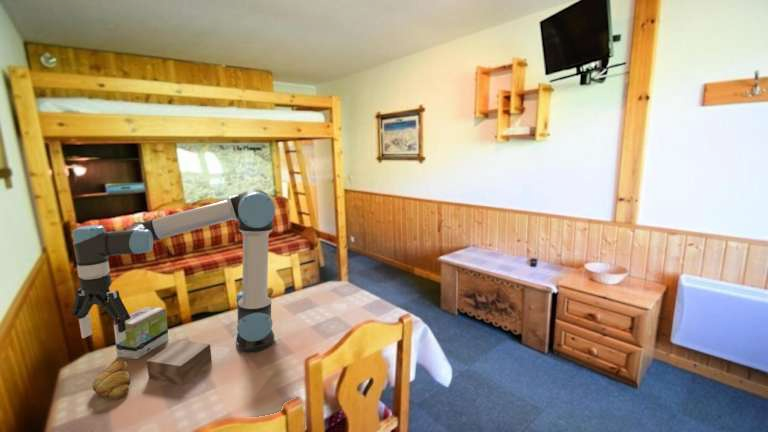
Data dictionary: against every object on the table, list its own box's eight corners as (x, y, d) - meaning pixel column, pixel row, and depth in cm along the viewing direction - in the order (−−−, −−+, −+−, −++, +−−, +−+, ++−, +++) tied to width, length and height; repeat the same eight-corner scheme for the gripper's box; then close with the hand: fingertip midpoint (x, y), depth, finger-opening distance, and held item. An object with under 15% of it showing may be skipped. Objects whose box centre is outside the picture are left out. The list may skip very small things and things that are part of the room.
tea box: (138, 360, 131) (133, 324, 129) (116, 357, 133) (111, 321, 131) (169, 339, 146) (166, 307, 143) (150, 337, 148) (145, 305, 145)
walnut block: (211, 361, 131) (210, 344, 129) (183, 384, 117) (180, 366, 116) (180, 356, 133) (178, 339, 132) (148, 379, 120) (146, 360, 119)
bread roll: (135, 394, 112) (132, 372, 111) (97, 409, 106) (93, 386, 104) (128, 376, 121) (125, 356, 120) (92, 389, 115) (88, 368, 113)
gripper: (138, 274, 108) (146, 337, 111) (76, 268, 113) (85, 328, 116) (115, 283, 100) (124, 349, 104) (50, 276, 106) (60, 339, 109)
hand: (104, 338), depth 110 cm, fingers open, 13 cm apart
